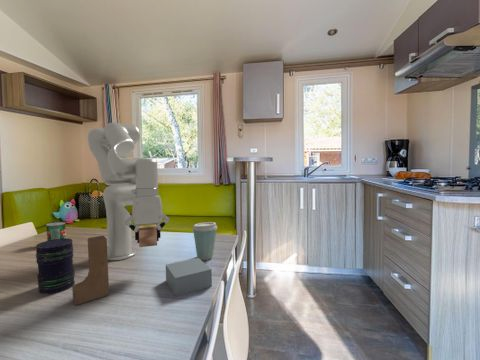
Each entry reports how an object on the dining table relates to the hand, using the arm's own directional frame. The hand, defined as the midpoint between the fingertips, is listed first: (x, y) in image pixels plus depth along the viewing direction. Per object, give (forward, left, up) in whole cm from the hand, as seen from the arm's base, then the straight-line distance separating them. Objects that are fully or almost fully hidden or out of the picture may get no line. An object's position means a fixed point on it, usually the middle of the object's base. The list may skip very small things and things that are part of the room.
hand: (148, 240), depth 92 cm
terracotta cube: (0, 0, -1) cm, 1 cm away
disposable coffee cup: (+23, +8, -13) cm, 27 cm away
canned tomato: (-44, +54, -13) cm, 71 cm away
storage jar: (-29, 0, -13) cm, 31 cm away
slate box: (+12, -14, -13) cm, 22 cm away
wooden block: (-17, -12, -13) cm, 24 cm away
